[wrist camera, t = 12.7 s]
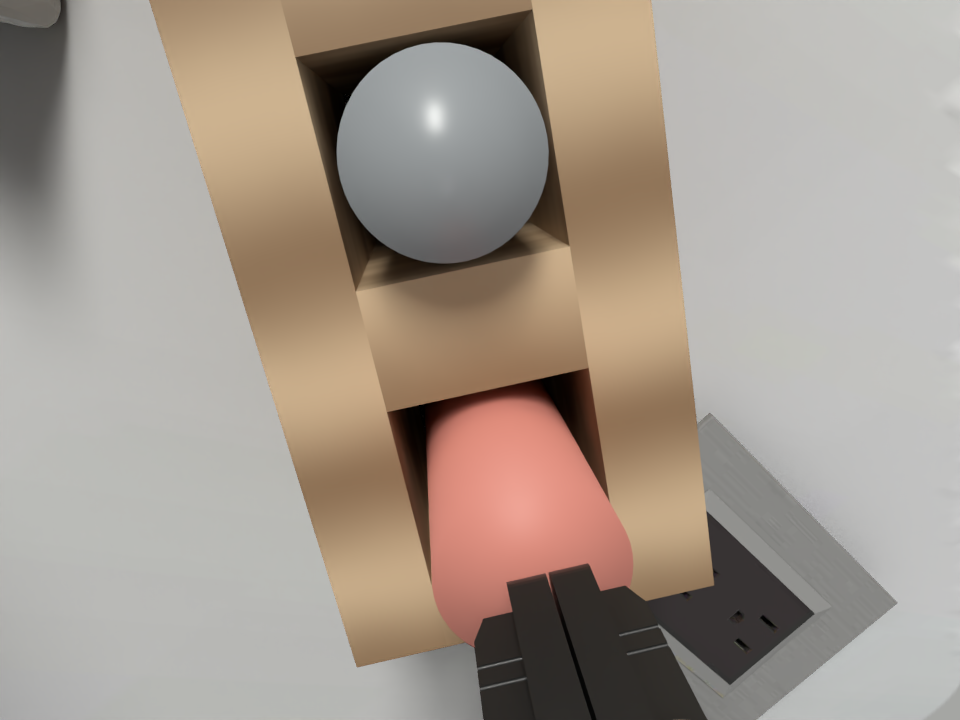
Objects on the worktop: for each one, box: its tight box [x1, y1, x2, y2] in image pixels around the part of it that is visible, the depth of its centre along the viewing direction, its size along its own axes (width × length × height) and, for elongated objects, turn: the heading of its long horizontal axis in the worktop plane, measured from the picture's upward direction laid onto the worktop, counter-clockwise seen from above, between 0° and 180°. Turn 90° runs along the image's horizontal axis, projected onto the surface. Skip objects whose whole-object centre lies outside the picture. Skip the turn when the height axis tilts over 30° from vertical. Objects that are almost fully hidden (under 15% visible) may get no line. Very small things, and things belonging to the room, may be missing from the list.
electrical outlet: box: [646, 413, 897, 720], centre depth 30 cm, size 13×10×2 cm
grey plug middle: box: [337, 43, 549, 263], centre depth 18 cm, size 4×4×10 cm
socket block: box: [149, 0, 714, 667], centre depth 20 cm, size 25×10×10 cm, turn 11°
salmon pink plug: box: [424, 378, 633, 648], centre depth 18 cm, size 4×4×10 cm
